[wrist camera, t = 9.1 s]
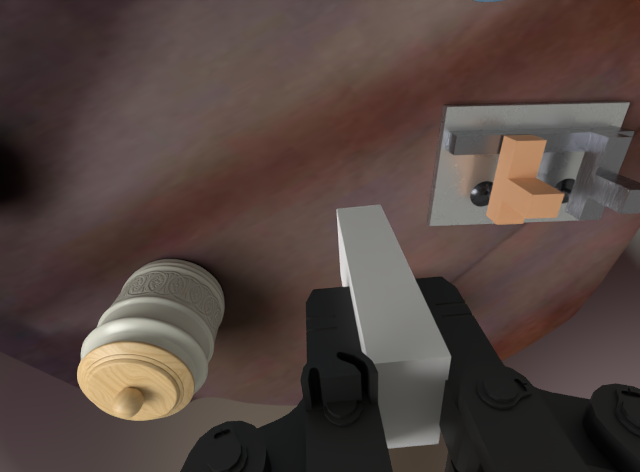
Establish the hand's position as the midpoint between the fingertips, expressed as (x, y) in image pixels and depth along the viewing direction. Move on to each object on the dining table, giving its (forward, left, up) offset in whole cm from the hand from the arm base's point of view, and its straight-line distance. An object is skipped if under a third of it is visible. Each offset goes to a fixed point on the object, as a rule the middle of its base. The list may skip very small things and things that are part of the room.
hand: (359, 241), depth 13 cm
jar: (+24, -19, -29) cm, 42 cm away
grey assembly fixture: (+7, +24, -29) cm, 38 cm away
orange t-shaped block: (+7, +20, -27) cm, 35 cm away
